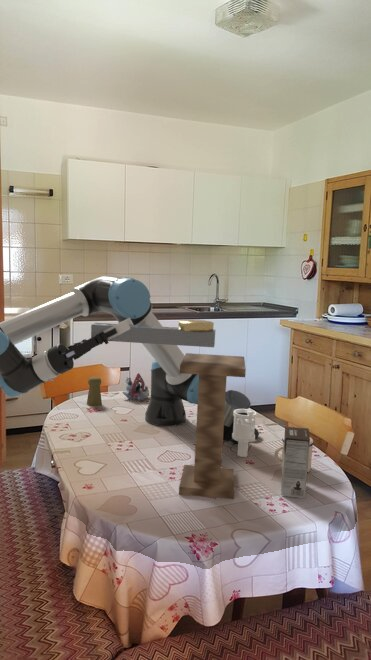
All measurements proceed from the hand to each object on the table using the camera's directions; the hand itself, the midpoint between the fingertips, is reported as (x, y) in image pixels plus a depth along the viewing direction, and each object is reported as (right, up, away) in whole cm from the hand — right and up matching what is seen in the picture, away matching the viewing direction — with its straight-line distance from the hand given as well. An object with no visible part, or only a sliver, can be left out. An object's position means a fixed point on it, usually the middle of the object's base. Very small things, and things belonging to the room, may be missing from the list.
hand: (129, 323), depth 131 cm
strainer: (+32, -41, +26) cm, 58 cm away
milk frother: (+31, -37, +41) cm, 63 cm away
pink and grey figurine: (-6, -31, +83) cm, 89 cm away
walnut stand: (+20, -43, +4) cm, 48 cm away
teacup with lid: (+46, -43, +17) cm, 65 cm away
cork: (-22, -32, +72) cm, 82 cm away
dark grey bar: (+6, -5, 0) cm, 8 cm away
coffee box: (+43, -45, +3) cm, 62 cm away
